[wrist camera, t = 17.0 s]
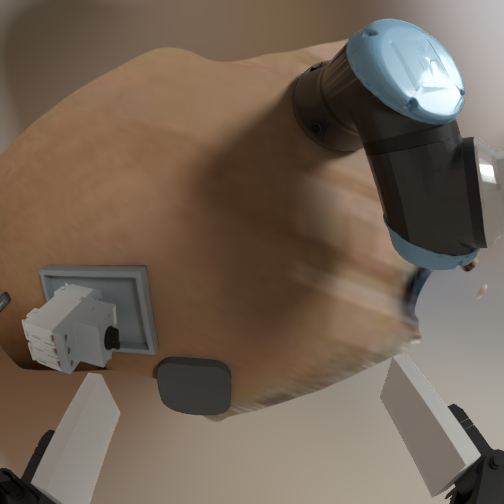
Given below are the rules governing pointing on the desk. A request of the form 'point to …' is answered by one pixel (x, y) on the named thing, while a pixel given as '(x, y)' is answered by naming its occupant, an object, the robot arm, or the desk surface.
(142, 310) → the tray
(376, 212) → the desk surface
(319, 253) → the desk surface
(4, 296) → the usb stick
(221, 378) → the media streaming box
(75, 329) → the circuit breaker
